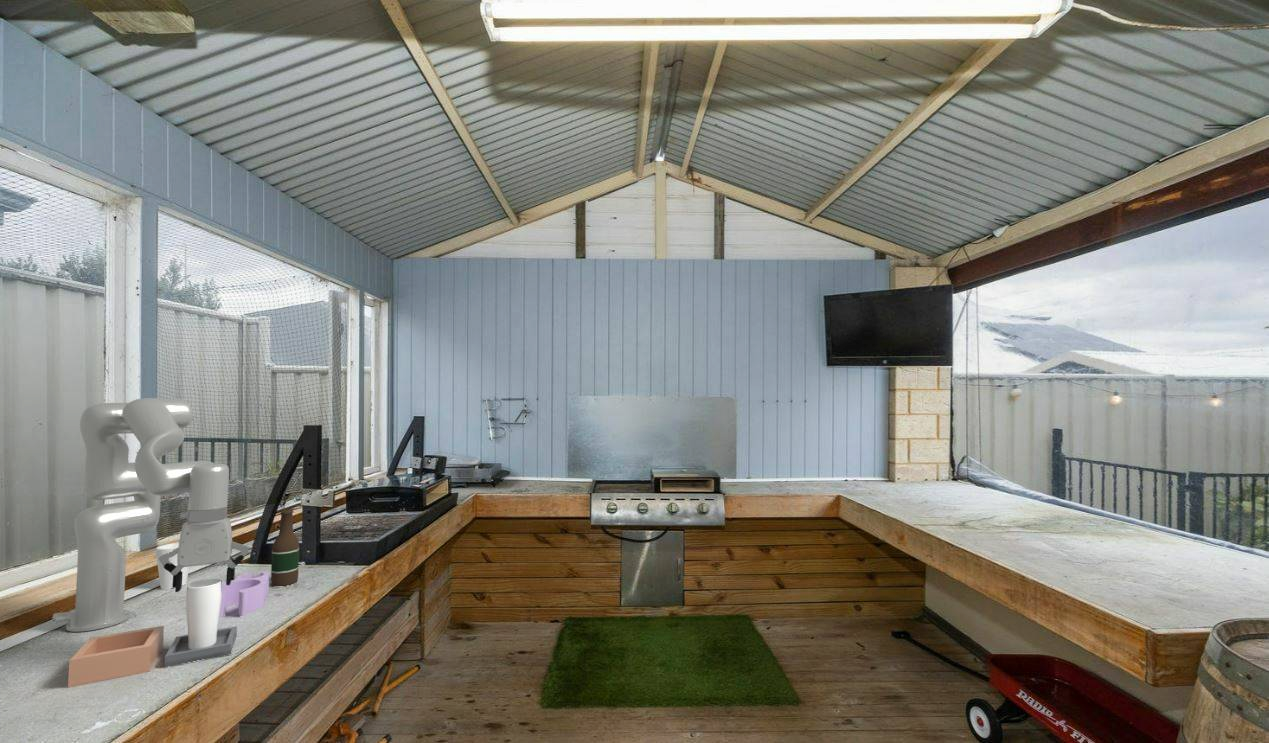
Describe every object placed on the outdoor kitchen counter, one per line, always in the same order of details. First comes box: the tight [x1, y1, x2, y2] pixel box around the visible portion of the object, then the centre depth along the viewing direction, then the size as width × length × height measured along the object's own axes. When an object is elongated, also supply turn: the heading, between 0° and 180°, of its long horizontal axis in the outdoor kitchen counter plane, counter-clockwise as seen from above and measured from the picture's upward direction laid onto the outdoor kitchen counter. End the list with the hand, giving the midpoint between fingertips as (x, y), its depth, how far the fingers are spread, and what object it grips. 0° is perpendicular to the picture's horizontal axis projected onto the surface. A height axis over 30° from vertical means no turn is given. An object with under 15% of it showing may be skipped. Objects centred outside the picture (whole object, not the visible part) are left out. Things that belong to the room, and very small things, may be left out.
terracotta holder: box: [67, 625, 165, 688], centre depth 123 cm, size 13×13×6 cm
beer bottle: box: [270, 508, 300, 587], centre depth 181 cm, size 8×8×24 cm
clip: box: [219, 571, 270, 619], centre depth 161 cm, size 20×12×7 cm, turn 16°
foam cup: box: [155, 541, 191, 590], centre depth 178 cm, size 10×9×13 cm
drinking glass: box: [185, 578, 223, 650], centre depth 131 cm, size 7×7×15 cm
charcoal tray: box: [164, 626, 238, 668], centre depth 131 cm, size 12×12×2 cm
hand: (204, 586), depth 132 cm, fingers open, 9 cm apart
